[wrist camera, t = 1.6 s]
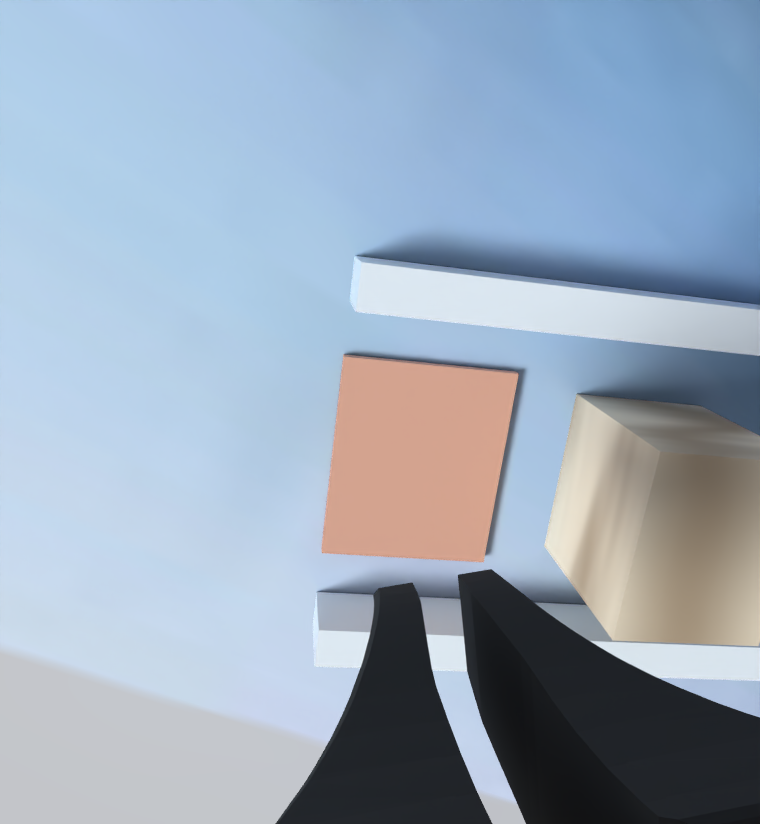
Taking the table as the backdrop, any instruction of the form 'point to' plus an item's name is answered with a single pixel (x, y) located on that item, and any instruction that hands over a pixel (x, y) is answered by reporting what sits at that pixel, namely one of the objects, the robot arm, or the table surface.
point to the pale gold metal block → (660, 521)
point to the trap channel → (479, 445)
